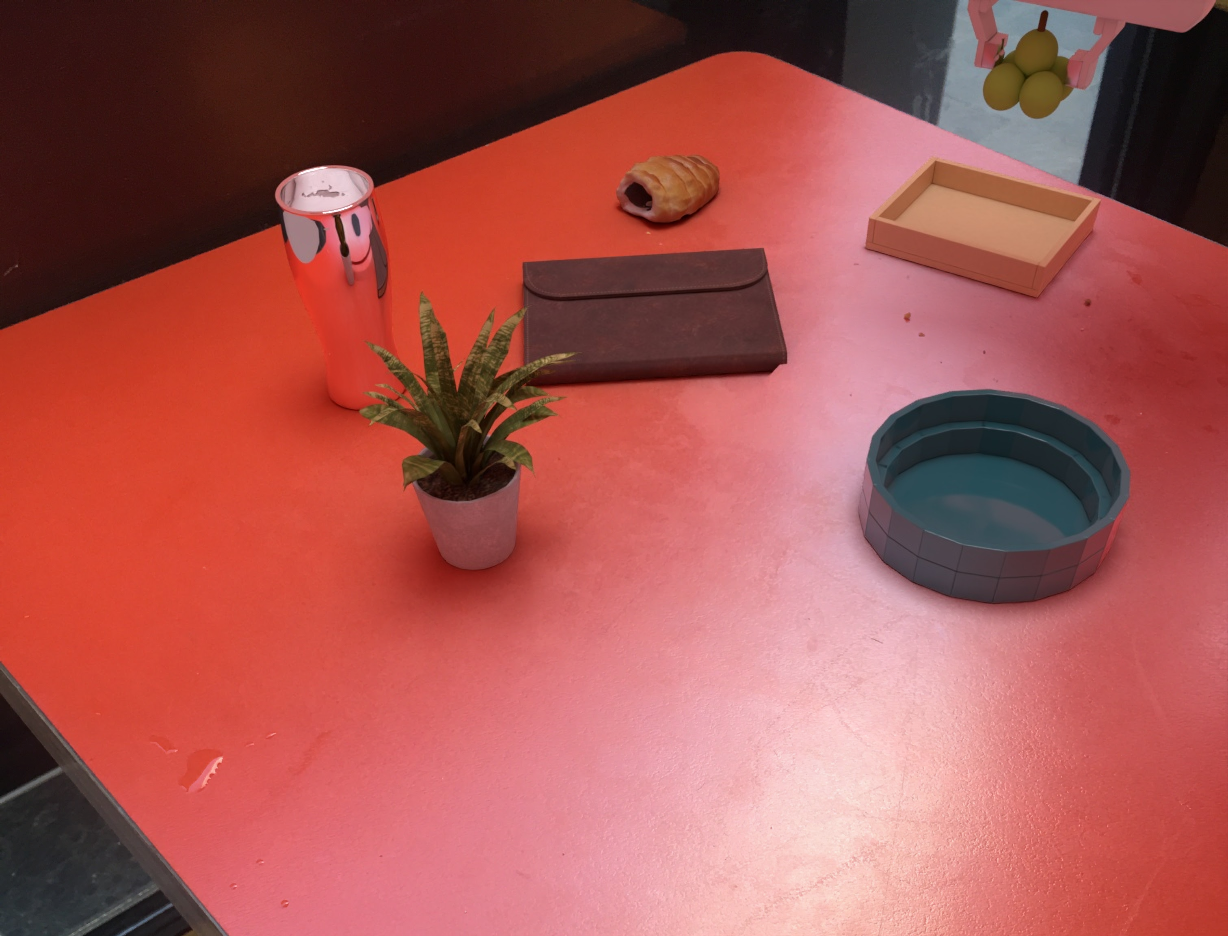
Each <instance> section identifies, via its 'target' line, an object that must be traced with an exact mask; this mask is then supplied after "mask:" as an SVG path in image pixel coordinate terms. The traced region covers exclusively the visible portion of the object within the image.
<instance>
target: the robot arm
mask: <svg viewBox="0 0 1228 936" xmlns="http://www.w3.org/2000/svg"><path fill="white" fill-rule="evenodd" d="M999 1H1000V0H968V3H967V10H966V11H967V13H968V17H969V20H970V23H971V27H972V29H973V32H974V35H975V39H976V40H977V46H976V51H975V57H974V63H973V64H974V67H976V68H980V69H985V70H986V69H987V70H990V71H991V70H992V69H993V68H995V67H996V66H998V65H1000V64H1002V62H1003V59H1004V58H1005V56H1006V51H1005V48H1006V47H1007V45H1008V39H1009V34H1007V33H1003V32H999V31H998V27H997V22H996V18H995V14H994V9H993V7H994V5H995V4H996V3H998V2H999ZM1013 1H1015V2H1019V3H1025V4H1030V5H1035V6H1040V7H1044V8H1045V7H1046V8H1052V9H1057V10H1061V11H1066V12H1071V13H1076V14H1077V13H1078V14H1082V15H1088V16H1092V17H1096V18H1095V22H1094V27H1093V31H1092V33H1093V34H1094V35H1096V36H1100V37H1099V39H1098V40H1097V41H1096V42H1095V43H1094V44H1093V45H1092V47H1091V48H1090V49H1089V50H1086V49H1083V48H1082V49H1081V48H1078V49H1077V50H1076V51H1075V52H1074V54H1073V55H1071V57H1069V58H1068V59H1069V61H1068V65H1067V69H1066V70H1067V73H1068V74H1067V75H1066V76H1065V78H1064V83H1063V84H1064V86H1068V87H1073V88H1074V89H1077V90H1083V91H1086V89H1087V88H1089V86H1090V85H1092V81H1093V80H1094V77H1095V73H1096V69H1097V66H1098V61H1099V57H1100V56H1101V55H1102V53H1103V52H1104V51H1105V50H1106V49H1107V48H1108V46H1109V45H1110V44H1111V43H1112V42H1113V41H1114V40H1115V39H1116V37H1117V36H1118V35H1119V34H1120V32H1121V31H1122V30H1123V29H1124V28H1125V26H1126V23H1129V24H1133V25H1134V24H1135V25H1139V26H1143V27H1149V28H1153V29H1160V30H1165V31H1169V32H1175V33H1186V32H1188V31H1190V30H1191V29H1192V28H1194V27H1195V26H1196V25H1198V23H1200V22H1201V21H1203V19H1205V18H1206V17H1207V15H1208V14H1209V13H1210V11H1212V9H1213V8H1214V5H1215V3H1216V1H1217V0H1013Z"/></svg>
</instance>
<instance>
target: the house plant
mask: <svg viewBox="0 0 1228 936" xmlns="http://www.w3.org/2000/svg"><path fill="white" fill-rule="evenodd" d="M423 291H424V289H422V290H421V292H420V295H419V302H418V303H419V305H418V317H419V332H420V337H421V346H422V353H423V355H422V356H423V367H424V377H425V379H424V378H423V377H422V376H420V375H419V374H416V373H414V372H412V371H411V370H410V369H409V368H408V367H407V366H406V365H405V364H404V363H403V362H402V361H401V359H400V360H398V359H397V358H396V357H395V356H394V355H392V354H391V353H390V352H388V351H387V350H385V349H383V348H382V347H380V346H377V345H374V344H372V343H370V342H367V341H365V342H366V343H367V345H368V346H369V347H370V349H371V350H372V351H373V352H375V353H376V354H377V355H379V356H380V357H381V358H382V360H383V362H384V363H385V365H386V366H387V368H388V369H389V370H390V372H387V373H391V372H392V373H393V374H394V375H395V376H396V377H397V378H398V379H399V380H400V381H401V383H402V384H403V385H404V386H405V388H406V389H405V390H406V391H408V393H409V395H410V397H411V399H412V400H413V401H412V400H411V399H410V398H409V397H407V396H405V394H401V393H399V392H397V391H396V390H395V389H393V388H392V387H390V386H389V385H387V384H375V385H377V386H380V387H384V388H388V389H390V390H391V391H393V392H395V393H396V394H397V395H399V396H400V397H399V398H402V399H403V400H405V401H406V402H407V403H408V404H409V405H410V406H411V407H412V408H409V407H408V408H407V407H405V406H404V405H402V404H401V403H399V402H398V401H397V400H393V399H390V398H388V397H386V396H384V395H382V394H380V393H377V392H363V393H364V394H366V395H368V396H370V397H372V398H376V399H380V400H381V401H383V402H384V403H386V404H387V405H385V404H374V405H369V406H367V407H365V408H363V409H361V410H358V412H357V413H358V414H360V415H361V416H362V417H363V418H365V419H367V420H369V421H370V423H369V425H368V426H367V428H368V427H370V426H373V424H375V423H377V424H380V425H385V426H389V427H391V428H395V429H398V430H401V431H403V432H405V433H407V434H408V435H410V436H412V438H414V439H416V440H417V441H418V442H419V443H421V444H422V445H423V446H424V447H423V448H422V449H421V450H420V451H419V452H418V453H417V454H413V455H410V456H407V457H405V458H404V459H402V462H401V468H402V476H403V483H402V487H403V492H405V491H406V488H407V487H408V486H409V485H412V487H413V490H414V493H415V494H416V497H417V499H418V501H419V504H420V507H421V509H422V511H423V514H424V517H425V518H426V522H427V524H428V527H429V529H430V531H431V534H432V537H433V539H434V541H435V544H436V546H437V548H438V551H439V553H440V556H441V557H442V559H443V560H444V561H445V560H446V561H445V562H447V563H448V564H450V565H451V566H453V567H455V568H458V569H463V570H469V571H474V570H475V571H476V570H484V569H485V570H486V569H488V568H492V567H495V566H496V565H497V566H498V565H499V564H501V563H502V562H504V561H505V560H507V559H508V558H509V557H510V556H511V554H512V553H513V552H514V550H515V547H516V542H517V541H516V540H517V529H518V528H517V527H518V516H519V515H518V514H519V499H520V488H521V486H520V485H521V474H522V473H521V472H522V466H524V467H525V468H527V469H528V470H529V471H531V472H532V474H533V476H534V478H537V477H536V474H535V470H534V463H533V457H532V455H531V453H530V452H529V450H528V449H527V448H526V447H525V446H524V445H522V444H520V443H519V442H517V441H513V440H508V439H507V438H508V437H509V436H510V435H511V434H512V433H514V432H516V431H519V430H521V429H524V428H526V427H529V426H530V425H533V424H536V423H539V422H540V421H544V420H545V419H547V418H549V417H559V418H562V416H561V415H559V414H558V412H555V411H554V410H552V409H550V408H549V407H547V406H545V405H547V404H549V403H553V402H554V403H555V402H559V401H562V400H565V399H570V397H568V396H552V395H551V394H550V393H548V392H546V391H545V390H543V389H542V388H539V387H537V386H534V385H526V383H527V382H529V381H530V380H532V379H533V378H535V377H537V376H539V375H544V374H550V373H553V372H556V371H557V370H537V369H538V368H540V367H543V366H548V365H555V364H562V363H567V362H572V361H576V360H570V361H559V362H554V361H557V360H561V359H564V358H567V357H570V356H572V355H574V354H577V353H581V352H572V353H562V354H555V355H551V356H547V357H544V358H540V359H538V360H536V361H533V362H531V363H529V364H527V365H525V366H524V365H523V366H519V367H517V368H514V369H511V370H509V371H507V372H504V373H502V374H500V375H498V376H497V374H498V373H499V371H500V369H501V368H502V367H501V366H502V365H503V363H504V361H505V359H506V357H507V356H508V354H509V350H510V346H511V342H512V337H513V334H514V331H515V330H516V328H517V327H518V325H519V323H520V322H521V321H522V319H524V313H525V311H526V309H527V308H528V307H530V306H528V307H525V308H521V309H519V310H518V311H517V312H515V313H514V314H512V315H511V316H509V317H508V318H507V319H506V320H505V322H503V323H502V325H501V326H500V327H499V328H498V329H497V331H496V332H495V334H494V335H493V337H492V339H491V341H490V342H489V339H490V336H491V333H492V329H493V326H494V324H495V323H494V322H495V310H496V308H497V306H495V307H494V308H493V309H492V310H491V311H490V313H489V314H488V317H487V319H486V320H485V322H484V323H483V325H482V327H481V330H480V331H479V334H478V336H477V338H476V340H475V342H474V344H473V346H472V348H471V349H470V352H469V354H468V355H467V358H466V357H464V358H463V359H462V360H461V361H460V362H459V363H458V364H457V365H456V366H455V367H454V368H453V364H452V360H451V356H450V349H449V343H448V342H449V341H448V337H447V333H446V332H445V329H444V328H443V326H442V325H441V323H440V321H439V320H438V319H437V317H436V315H435V312H434V309H433V306H432V303H431V300H430V299H429V298H428V297H427V296H426V295H425V294H424V292H423ZM531 306H532V305H531ZM362 341H363V340H362ZM488 342H489V344H488ZM465 359H466V360H465ZM463 361H465V363H464V366H463V368H462V371H461V375H460V378H459V382H458V387H457V384H456V379H455V372H456V370H457V369H459V367H460V366H461V365H462V363H463ZM535 370H537V371H535ZM496 376H497V377H496ZM417 378H419V379H420V380H421V381H422V382H423V384H424V385H425V386H426V388H427V389H426V391H425V390H424V388H423V386H422V385H421V383H420V382H419V380H418V379H417ZM539 397H543V398H540V399H538V400H535V401H534V402H532V403H530V404H529V405H526V406H524V407H522V408H520V409H518V408H517V407H516V406H515V404H516V403H518V402H521V401H525V400H529V399H533V398H539ZM507 409H511V410H513V411H515V412H513V413H512V414H511V415H509V416H508V417H506V418H505V419H504V420H503V421H502V422H501V423H500V424H498V425H497V426H496V427H495V429H494V430H493V432H491V431H490V430H491V429H492V427H493V425H494V423H495V422H496V420H497V419H499V417H501V415H502V414H503V413H504V412H505V411H506V410H507ZM490 432H491V434H489V433H490Z"/></svg>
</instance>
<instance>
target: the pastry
mask: <svg viewBox="0 0 1228 936" xmlns="http://www.w3.org/2000/svg"><path fill="white" fill-rule="evenodd" d="M720 179H721V175H720V169H719V167H718V166H717V165H715V164H714V163H713V162H712V161H710V160H709V159H708V158H707V157H705V156H703V155H699V154H690V155H684V154H673V155H664V156H663V155H659V156H655V155H653V156H650V157H649V158H648V159H647V160H646V161H641V162H635V163H634V164H633V165H632V167H631V168H630V170H627V171H626V172H625V174H624V176H623V177H622V179H621V180H620V182H619V185H618V187H617V188H616V190H615V191H616V192H615V193H616V200H617V201H618V202H619V203H620V206H621V209H622V210H623V211H624V212H627V213H629V214H631V215H633V216H637V217H642V218H644V219H646V220H648V221H650V222H653V223H664V224H668V223H672V222H676V221H680V220H681V218H682V217H683V216H685V215H689V216H691V215H692V214H694V213H696V212H697V211H698V209H700V208H703V207H704V205H707V203H708V202H710V201H711V200H712V199H713V198H714V196H715V195H716V194H717V192H718V190H719V187H720Z"/></svg>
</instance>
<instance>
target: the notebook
mask: <svg viewBox="0 0 1228 936" xmlns="http://www.w3.org/2000/svg"><path fill="white" fill-rule="evenodd" d="M768 265H769V264H768V259H767V255H766V252H765V248H764V247H755V248H737V249H724V250H723V249H720V250H719V249H717V250H704V251H686V252H669V253H667V252H666V253H653V254H650V253H649V254H636V255H619V256H616V255H615V256H602V257H586V258H585V257H584V258H583V257H582V258H568V259H567V258H565V259H550V260H534V261H523V262H522V288H523V289H522V294H523V295H522V296H523V298H522V300H523V301H522V302H523V303H522V304H523V308H525V307H528V306H530V307H528V308H527V309H526V311H525V313H524V316H523V366H525V365H527V364H529V363H531V362H533V361H536V360H538V359H540V358H544V357H547V356H551V355H555V354H562V353H572V352H581V353H577V354H574V355H572V356H570V357H567V358H564V359H561V360H557V361H554V362H559V361H570V360H576V361H572V362H567V363H562V364H555V365H548V366H543V367H540V368H538V369H537V370H557V371H556V372H553V373H550V374H544V375H539V376H537V377H535V378H533V379H532V380H530V381H529V382H527V383H526V384H525V386H537V385H554V384H555V385H556V384H557V385H558V384H571V383H586V382H587V383H588V382H589V383H590V382H604V381H606V382H607V381H622V380H636V379H639V380H640V379H653V378H655V379H656V378H657V379H658V378H673V377H689V376H705V375H721V374H722V375H724V374H739V373H740V374H741V373H756V372H772V371H776V370H777V369H778V368H779V366H781V365H787V363H788V349H787V345H786V340H785V336H784V332H783V328H782V324H781V319H780V315H779V310H778V306H777V302H776V298H775V294H774V290H773V289H774V288H773V285H772V281H771V277H770V272H769V268H768V267H769V266H768ZM531 305H532V306H531ZM523 308H522V309H523ZM537 370H535V371H537Z"/></svg>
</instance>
